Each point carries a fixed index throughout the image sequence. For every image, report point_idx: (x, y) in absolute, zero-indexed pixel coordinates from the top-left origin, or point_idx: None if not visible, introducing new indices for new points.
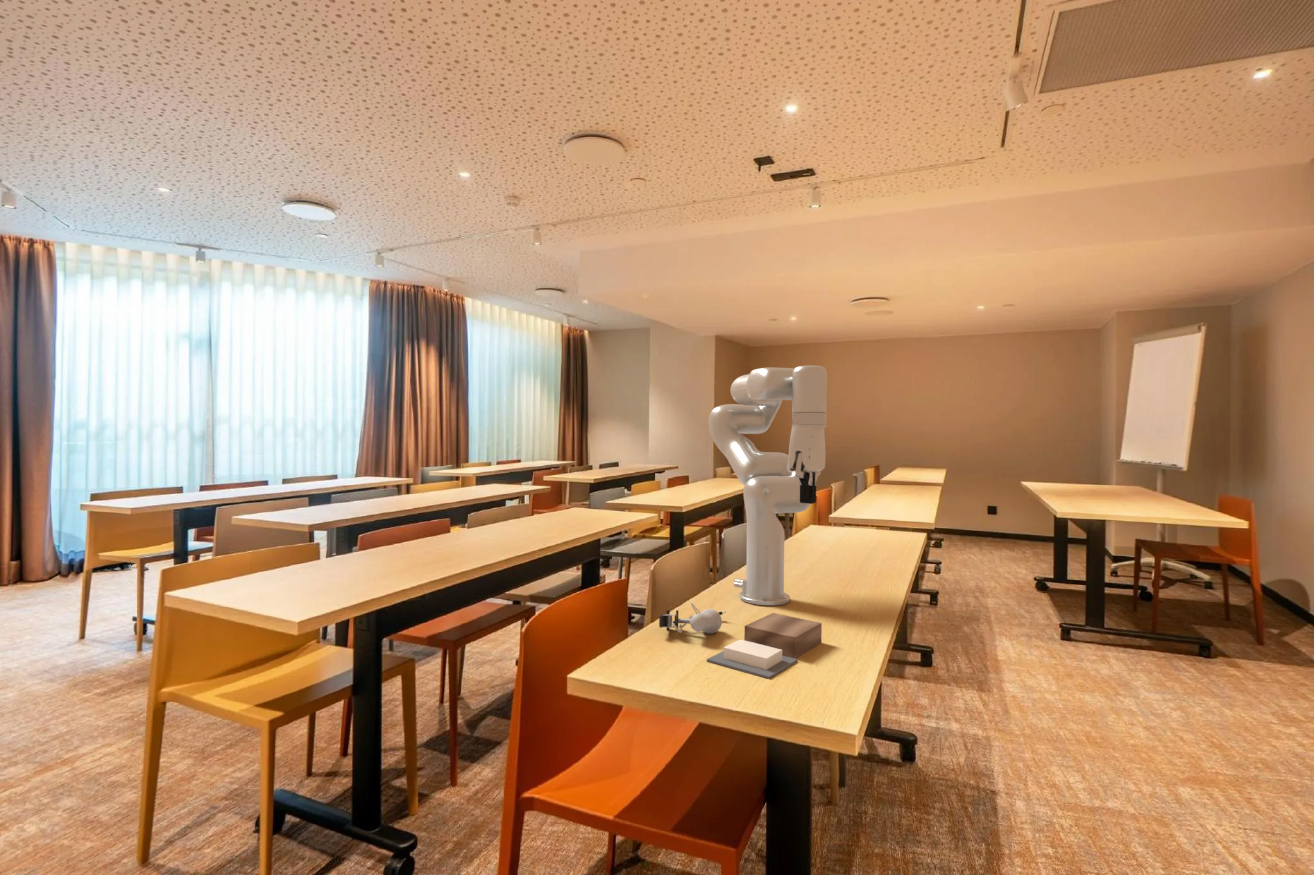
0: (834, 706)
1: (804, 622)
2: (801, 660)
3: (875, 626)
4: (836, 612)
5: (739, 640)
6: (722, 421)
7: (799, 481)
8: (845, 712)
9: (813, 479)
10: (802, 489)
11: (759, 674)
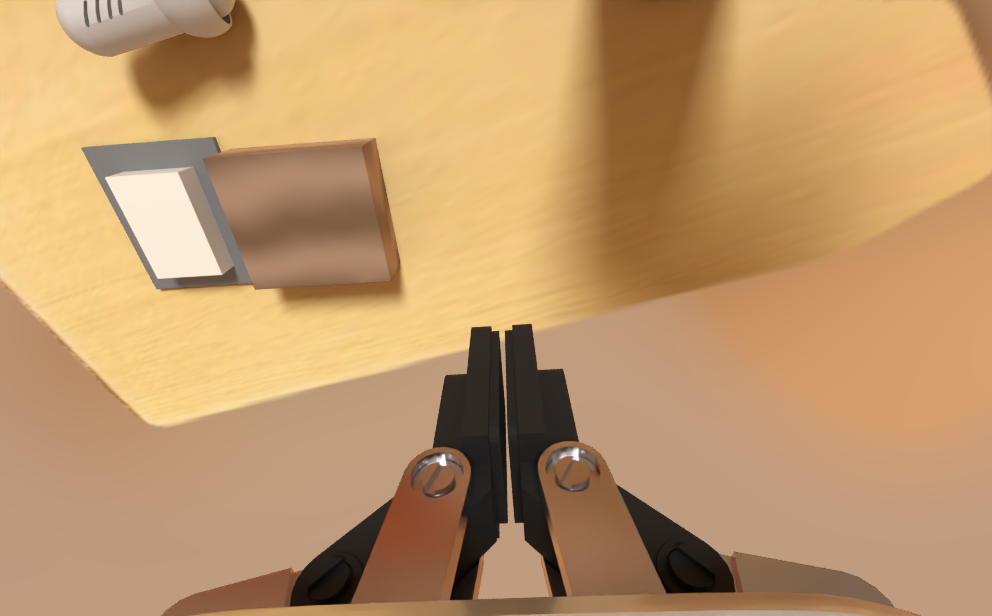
0: (187, 390)
1: (360, 252)
2: None
3: (593, 293)
4: (656, 175)
5: (170, 175)
6: None
7: (399, 493)
8: (187, 405)
9: (549, 584)
10: (436, 437)
11: (147, 270)
